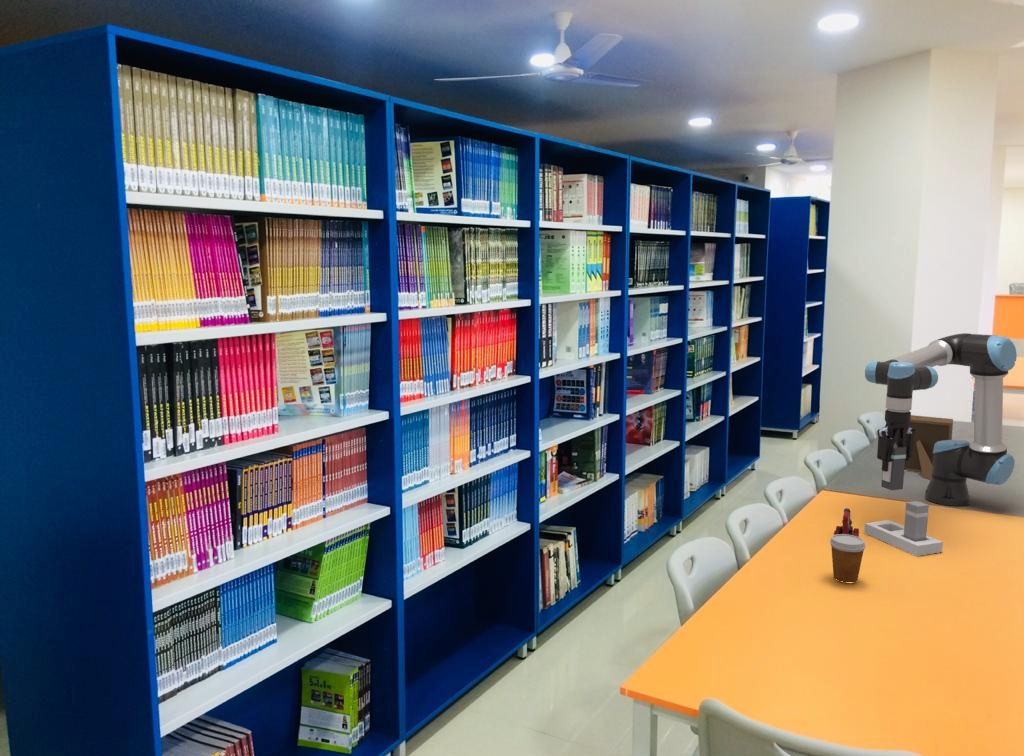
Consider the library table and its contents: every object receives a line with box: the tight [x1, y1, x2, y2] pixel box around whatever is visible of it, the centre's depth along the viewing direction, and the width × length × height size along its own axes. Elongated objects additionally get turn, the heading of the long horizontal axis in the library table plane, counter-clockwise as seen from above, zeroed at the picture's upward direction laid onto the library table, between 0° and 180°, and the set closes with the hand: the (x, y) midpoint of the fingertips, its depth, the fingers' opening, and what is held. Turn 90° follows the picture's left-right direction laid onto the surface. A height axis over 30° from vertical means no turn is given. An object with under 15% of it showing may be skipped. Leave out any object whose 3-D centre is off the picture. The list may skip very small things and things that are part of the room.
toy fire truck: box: [833, 508, 860, 537], centre depth 255 cm, size 7×12×10 cm, turn 152°
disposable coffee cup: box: [829, 534, 867, 583], centre depth 224 cm, size 10×10×12 cm
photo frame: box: [894, 414, 954, 481], centre depth 332 cm, size 15×22×25 cm
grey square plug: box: [903, 500, 930, 542], centre depth 248 cm, size 5×5×14 cm
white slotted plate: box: [863, 519, 944, 557], centre depth 254 cm, size 10×22×4 cm, turn 18°
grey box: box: [880, 444, 906, 491], centre depth 256 cm, size 5×5×14 cm
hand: (892, 480), depth 257 cm, fingers closed on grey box, 4 cm apart
